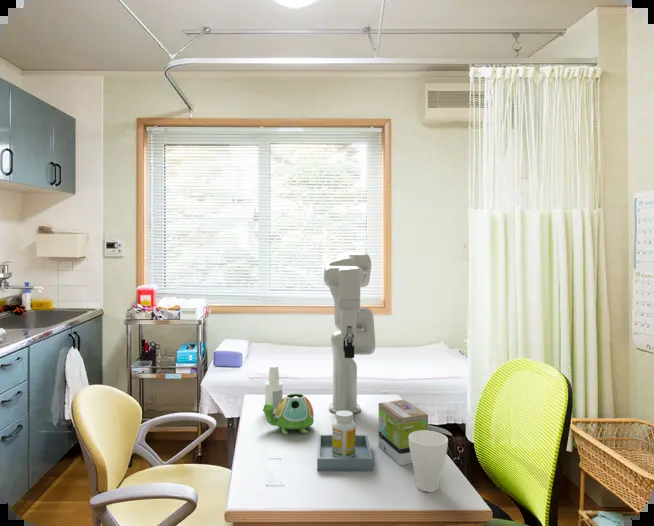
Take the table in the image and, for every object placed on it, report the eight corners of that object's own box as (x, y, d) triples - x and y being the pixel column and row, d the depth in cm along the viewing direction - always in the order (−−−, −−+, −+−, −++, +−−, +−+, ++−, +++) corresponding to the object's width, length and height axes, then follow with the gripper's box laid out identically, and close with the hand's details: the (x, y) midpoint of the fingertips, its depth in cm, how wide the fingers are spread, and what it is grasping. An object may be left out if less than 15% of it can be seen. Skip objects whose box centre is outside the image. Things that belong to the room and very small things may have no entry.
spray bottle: (281, 414, 186) (281, 368, 186) (263, 414, 187) (263, 368, 186) (283, 408, 193) (283, 364, 193) (266, 408, 193) (266, 363, 193)
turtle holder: (263, 423, 177) (263, 391, 177) (312, 422, 179) (312, 390, 179) (262, 436, 165) (262, 401, 165) (315, 435, 167) (315, 400, 166)
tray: (318, 445, 158) (318, 434, 158) (367, 445, 158) (367, 434, 158) (317, 470, 140) (317, 458, 140) (372, 471, 140) (372, 459, 140)
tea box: (377, 446, 157) (377, 401, 157) (404, 442, 161) (405, 398, 160) (399, 466, 143) (400, 417, 143) (428, 461, 147) (429, 413, 146)
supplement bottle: (332, 459, 146) (332, 417, 145) (332, 449, 153) (332, 409, 152) (355, 459, 146) (356, 417, 145) (354, 449, 153) (355, 409, 152)
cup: (454, 493, 128) (455, 443, 127) (418, 499, 125) (419, 447, 124) (435, 475, 138) (435, 428, 137) (401, 480, 135) (401, 432, 134)
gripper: (337, 301, 172) (337, 349, 173) (338, 307, 155) (338, 360, 155) (358, 301, 172) (358, 349, 173) (362, 307, 155) (361, 360, 155)
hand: (348, 354), depth 164 cm, fingers open, 9 cm apart
